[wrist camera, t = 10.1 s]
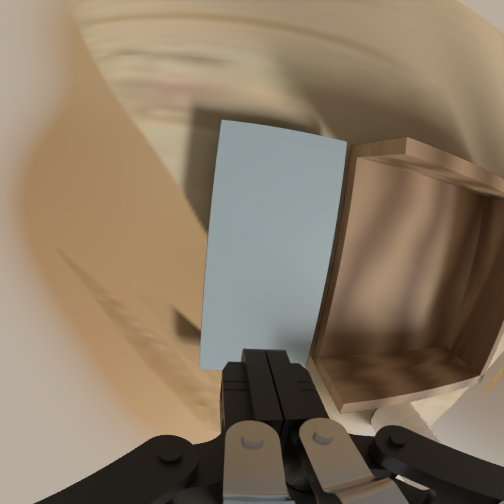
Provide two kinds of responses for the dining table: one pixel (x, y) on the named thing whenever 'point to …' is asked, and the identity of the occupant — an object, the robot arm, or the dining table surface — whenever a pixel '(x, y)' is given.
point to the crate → (412, 277)
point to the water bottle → (403, 425)
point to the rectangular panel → (268, 240)
